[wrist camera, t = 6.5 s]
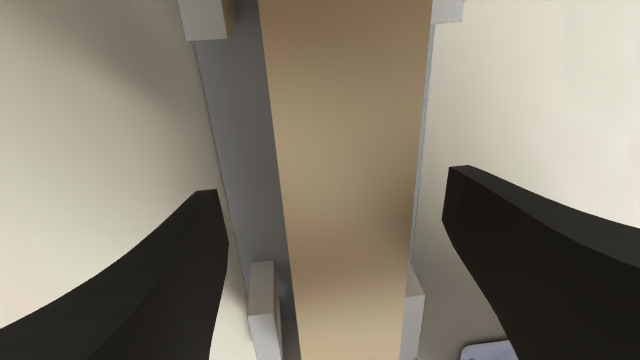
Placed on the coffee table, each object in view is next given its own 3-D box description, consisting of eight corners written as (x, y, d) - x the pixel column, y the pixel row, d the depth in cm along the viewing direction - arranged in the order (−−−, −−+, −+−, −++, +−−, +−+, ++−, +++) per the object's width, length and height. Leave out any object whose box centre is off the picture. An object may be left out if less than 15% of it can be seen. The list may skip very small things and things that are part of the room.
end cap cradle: (399, 329, 21) (422, 394, 18) (261, 346, 21) (258, 417, 18) (454, -297, 9) (551, -441, 6) (130, -293, 9) (43, -449, 6)
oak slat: (360, 296, 18) (393, 423, 13) (300, 303, 18) (310, 435, 13) (363, -100, 10) (448, -167, 5) (257, -95, 10) (238, -160, 5)
